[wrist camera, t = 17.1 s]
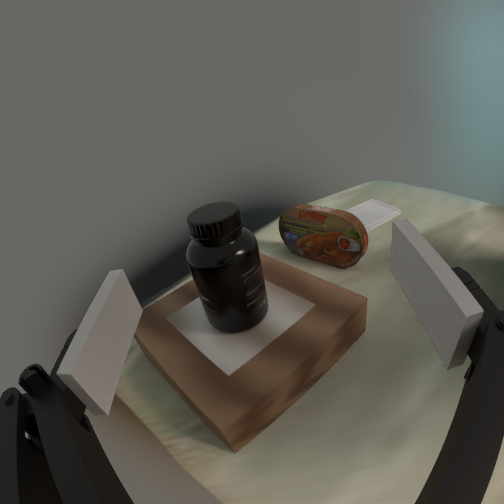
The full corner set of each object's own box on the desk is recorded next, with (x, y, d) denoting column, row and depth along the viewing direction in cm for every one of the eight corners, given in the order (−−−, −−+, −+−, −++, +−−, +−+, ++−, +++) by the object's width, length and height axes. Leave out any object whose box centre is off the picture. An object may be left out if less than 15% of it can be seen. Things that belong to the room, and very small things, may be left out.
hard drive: (359, 230, 52) (400, 208, 56) (328, 216, 59) (370, 197, 63) (359, 238, 53) (400, 216, 57) (329, 224, 59) (371, 204, 64)
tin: (281, 250, 53) (273, 204, 49) (292, 242, 55) (285, 197, 51) (361, 275, 43) (361, 222, 39) (370, 264, 45) (370, 213, 41)
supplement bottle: (196, 328, 33) (159, 228, 27) (225, 290, 38) (199, 196, 32) (255, 341, 30) (227, 230, 24) (279, 297, 35) (261, 195, 29)
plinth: (252, 275, 48) (246, 246, 46) (365, 330, 34) (367, 297, 32) (140, 348, 38) (124, 320, 36) (235, 452, 24) (220, 429, 22)
